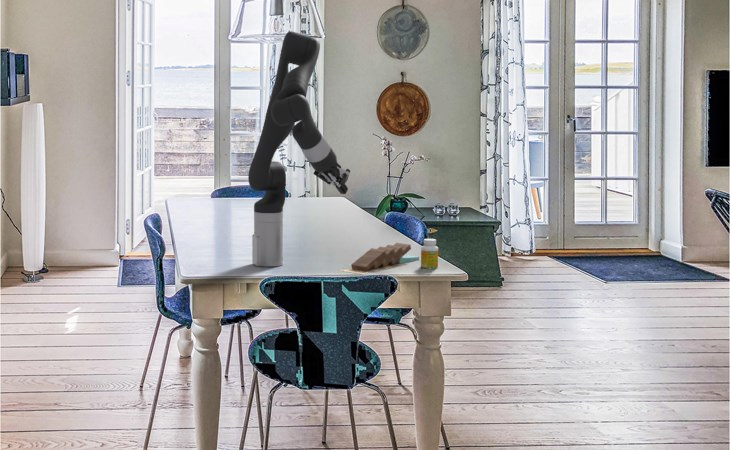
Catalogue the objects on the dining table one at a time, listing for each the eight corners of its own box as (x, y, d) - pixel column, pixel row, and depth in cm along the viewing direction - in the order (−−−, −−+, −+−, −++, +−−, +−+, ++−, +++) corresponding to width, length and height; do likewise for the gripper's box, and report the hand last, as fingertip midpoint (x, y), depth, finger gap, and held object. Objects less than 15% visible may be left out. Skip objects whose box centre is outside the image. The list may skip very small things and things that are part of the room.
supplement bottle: (428, 272, 266) (429, 241, 264) (417, 269, 270) (417, 239, 269) (441, 270, 269) (442, 240, 268) (430, 267, 273) (430, 237, 272)
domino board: (361, 276, 256) (361, 274, 256) (338, 273, 262) (338, 270, 262) (407, 266, 275) (407, 263, 275) (385, 262, 280) (385, 260, 280)
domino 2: (374, 265, 263) (393, 248, 271) (360, 262, 267) (379, 246, 274) (375, 269, 264) (394, 252, 272) (361, 267, 268) (380, 250, 275)
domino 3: (382, 263, 267) (401, 246, 274) (368, 261, 270) (388, 244, 278) (383, 267, 268) (402, 250, 275) (369, 265, 271) (389, 249, 278)
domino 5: (400, 258, 274) (419, 256, 283) (386, 256, 278) (405, 255, 286) (399, 263, 274) (418, 261, 283) (385, 261, 278) (405, 259, 286)
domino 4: (391, 260, 271) (410, 244, 278) (377, 258, 274) (396, 242, 281) (392, 265, 271) (411, 248, 279) (378, 263, 275) (397, 247, 282)
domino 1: (365, 267, 260) (385, 250, 267) (351, 264, 263) (371, 248, 271) (366, 271, 261) (386, 254, 268) (352, 269, 264) (372, 252, 272)
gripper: (342, 143, 239) (367, 184, 250) (307, 141, 247) (333, 181, 258) (329, 162, 235) (356, 203, 247) (294, 160, 243) (321, 199, 255)
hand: (344, 191), depth 252 cm, fingers closed
